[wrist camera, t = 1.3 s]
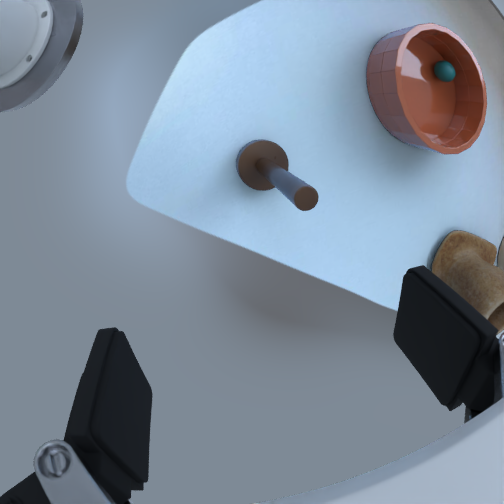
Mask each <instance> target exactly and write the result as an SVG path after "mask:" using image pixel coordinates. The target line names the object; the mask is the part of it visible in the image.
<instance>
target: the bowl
mask: <svg viewBox="0 0 504 504" xmlns="http://www.w3.org/2000/svg"><path fill="white" fill-rule="evenodd" d="M441 60H445V61H448V62H449V63H451V64H452V65H453V67H454V68H455V72H456V75H455V78H454V79H453V80H452V81H450V82H443V81H441V80H440V79H438V78H437V76H436V75H435V72H434V66H435V64H436V63H437V62H438V61H441ZM366 77H367V88H368V93H369V97H370V101H371V103H372V106H373V108H374V111H375V113H376V115H377V116H378V118H379V120H380V121H381V123H382V124H383V125H384V127H385V128H386V129H387V130H388V131H389V132H390V133H391V134H392V135H393V136H394V137H396V138H397V139H399V140H400V141H402V142H404V143H406V144H409V145H412V146H415V147H418V148H422V149H426V150H430V151H434V152H437V153H441V154H458V153H460V152H462V151H464V150H466V149H468V148H470V147H471V145H472V144H473V143H474V142H475V141H476V139H477V138H478V137H479V135H480V132H481V130H482V127H483V125H484V121H485V116H486V108H487V96H486V86H485V82H484V79H483V75H482V72H481V68H480V66H479V64H478V62H477V60H476V58H475V56H474V54H473V53H472V51H471V50H470V48H469V47H468V46H467V45H466V44H465V42H464V41H463V40H462V39H461V38H460V37H459V36H458V35H456V34H455V33H453V32H452V31H451V30H449V29H448V28H446V27H443V26H440V25H436V24H433V23H427V24H420V25H415V26H412V27H408V28H404V29H401V30H398V31H394V32H391V33H389V34H388V35H386V36H384V37H383V38H381V39H380V40H379V41H378V42H377V44H376V45H375V46H374V48H373V50H372V52H371V54H370V57H369V59H368V64H367V74H366Z"/></svg>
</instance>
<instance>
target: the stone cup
mask: <svg viewBox="0 0 504 504" xmlns="http://www.w3.org/2000/svg"><path fill="white" fill-rule="evenodd" d="M496 254H497V248H496V246H495V245H493V244H492V243H490V242H488V241H487V240H485V239H482V238H480V237H478V236H476V235H473V234H471V233H468V232H465V231H458V230H457V231H452V232H450V233H449V234H448V235H447V236H446V237H445V239H444V240H443V242H442V243H441V245H440V247H439V249H438V251H437V253H436V255H435V257H434V260H433V263H432V271H431V272H432V273H434V274H435V275H436V276H437V277H439V278H440V279H441V280H442V281H443V282H445V283H446V284H447V285H448V286H449V287H451V288H452V289H453V290H454V291H455V292H457V293H458V294H459V295H460V296H461V297H462V298H464V299H465V300H466V301H467V302H468V303H469V304H470V305H472V306H473V307H474V308H475V309H476V310H477V311H478V312H479V313H481V314H482V315H483V316H484V317H485V318H486V319H487V320H488V321H489V322H490V323H491V324H493V325H494V326H495V327H496V328H497V329H498V333H497V334H499V333H500V332H501V331H503V330H504V271H503V270H502V269H500V268H499V267H497V266H494V265H493V264H494V262H495V258H496Z"/></svg>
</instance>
